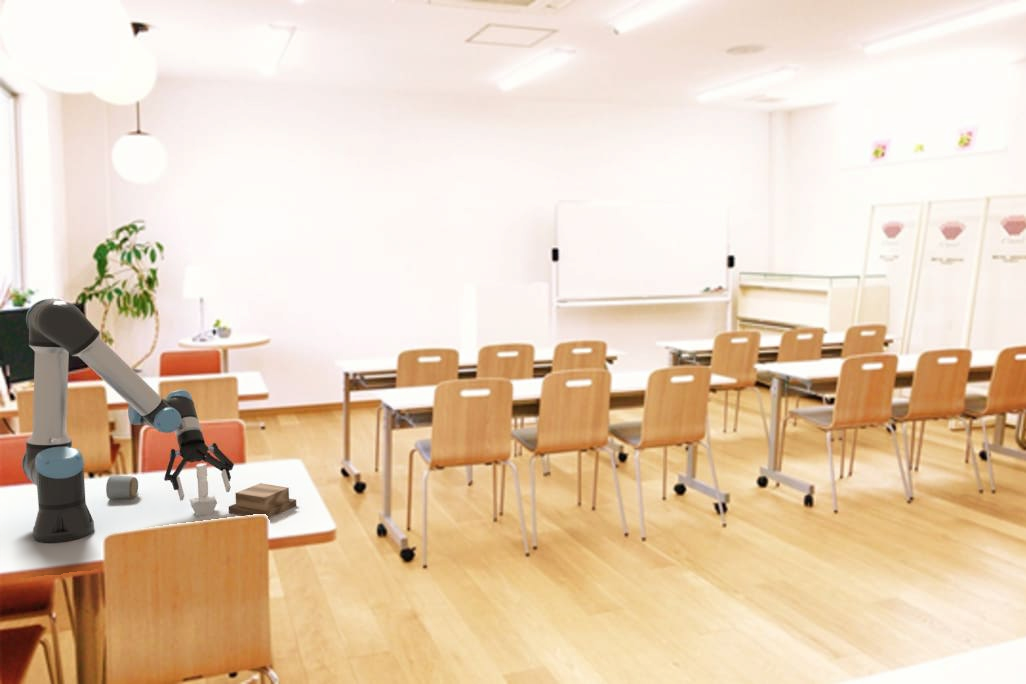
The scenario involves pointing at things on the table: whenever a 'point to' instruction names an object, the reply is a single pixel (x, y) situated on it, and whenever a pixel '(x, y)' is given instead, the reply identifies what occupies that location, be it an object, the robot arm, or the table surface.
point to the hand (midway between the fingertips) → (205, 494)
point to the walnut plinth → (268, 512)
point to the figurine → (203, 493)
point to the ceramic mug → (121, 487)
